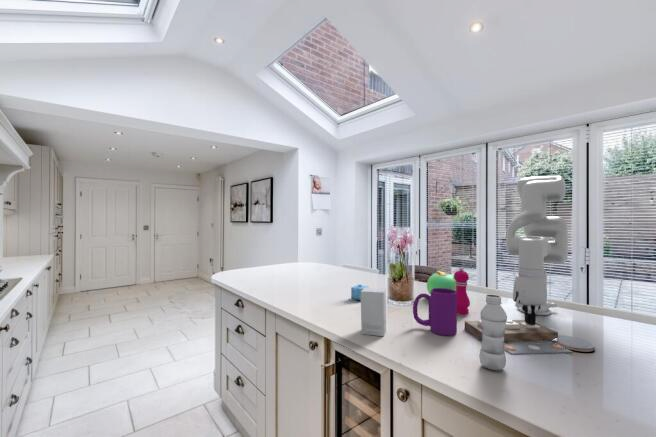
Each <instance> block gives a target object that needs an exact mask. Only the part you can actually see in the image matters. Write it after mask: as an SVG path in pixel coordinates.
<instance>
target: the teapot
mask: <svg viewBox="0 0 656 437" xmlns="http://www.w3.org/2000/svg"><path fill="white" fill-rule="evenodd" d="M350 288H351V290H350V292H351V295H350V298H351V299H353V301H358V300H359V301H360V302H361V291H362V290H363V289H364V288H370V287H369V286H368V285H367V286H366V285H362V284H356V285H355V286H351V287H350Z"/></svg>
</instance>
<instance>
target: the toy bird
mask: <svg viewBox="0 0 656 437" xmlns="http://www.w3.org/2000/svg"><path fill="white" fill-rule="evenodd" d="M455 281H456V280H455V279H454V274H451V273H447V272H444V271H440V270H436V272H435V273H433V274H432V275H430V276H429V278H428V280H427V282H426V289H427V291H428V295H429V296H431V290H432V289H434V288H446V289H452V290H455V291H456V285H455Z"/></svg>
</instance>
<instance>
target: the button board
mask: <svg viewBox="0 0 656 437" xmlns="http://www.w3.org/2000/svg"><path fill="white" fill-rule="evenodd" d="M511 320H512V321H514V322H516V323H518V324H519V329H506V328H505V334H504V344H507V343H543V342H553V341H552V340H553V339H555V338H558V339H559V332H558V331H556V330H555V329H552V328H549V327H547V326H545V325H543V324H541V323H538V322H536V325H538V326H540V328H530V329H529V328H526V327H524V326H522V325H520V323H525V319H511ZM478 321H479V320H464V330H466V331H467V332H468V333H469V334H472V335H473V336H474V337H476V338H477V339H478V340H480V341H481V342H482V327H480V326H479V325H478Z"/></svg>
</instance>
